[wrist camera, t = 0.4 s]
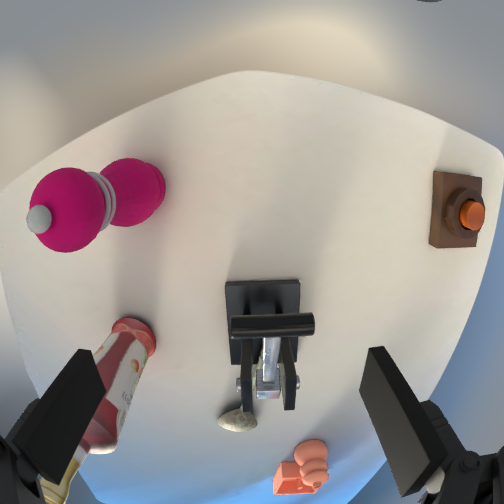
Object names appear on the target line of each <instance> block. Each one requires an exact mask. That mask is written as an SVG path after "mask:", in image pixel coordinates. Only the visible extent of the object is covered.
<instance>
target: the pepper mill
mask: <svg viewBox="0 0 504 504" xmlns="http://www.w3.org/2000/svg"><path fill="white" fill-rule="evenodd" d="M164 195H165V181H164V178H163V176H162V174H161V172H160V171H159V170H158V169H157V168H156V167H155V166H153V165H151V164H148V163H144V162H143V161H141V160H138V159H134V158H126V159H120V160H117V161H114V162H112V163H111V164H109V165H108V166H107V167H105V168H104V169H103V170H102V171H101V172H100V174H99V173H95V172H85V171H83V170H81V169H77V168H61V169H58V170H55V171H53V172H51V173H49V174H48V175H46V176H45V177H44V178H43V179H42V180H41V181H40V182H39V183H38V185H37V186H36V188H35V190H34V192H33V194H32V197H31V201H30V209H29V212H28V214H27V226H28V228H29V229H30V230H31V231H32V232H34V233H35V234H36V236H37V237H38V239H39V240H40V241H41V242H42V243H43V244H44V245H45V246H46V247H48V248H49V249H52V250H54V251H57V252H64V253H67V252H73V251H76V250H80V249H82V248H84V247H85V246H87V245H88V244H89V243H90V242H91V241H92V240H94V239H95V238H96V236H97V234H98V233H99V232H100V231H102V230H103V229H105V228H106V227H107V226H108V225H109V224H112V225H115V226H122V227H128V226H133V225H136V224H139V223H141V222H143V221H145V220H146V219H147V218H148V217H150V215H151V214H152V213H153V212H154V210H155V209H157V208H158V207H159V205H160V204H161V202H162V200H163V199H164Z"/></svg>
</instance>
